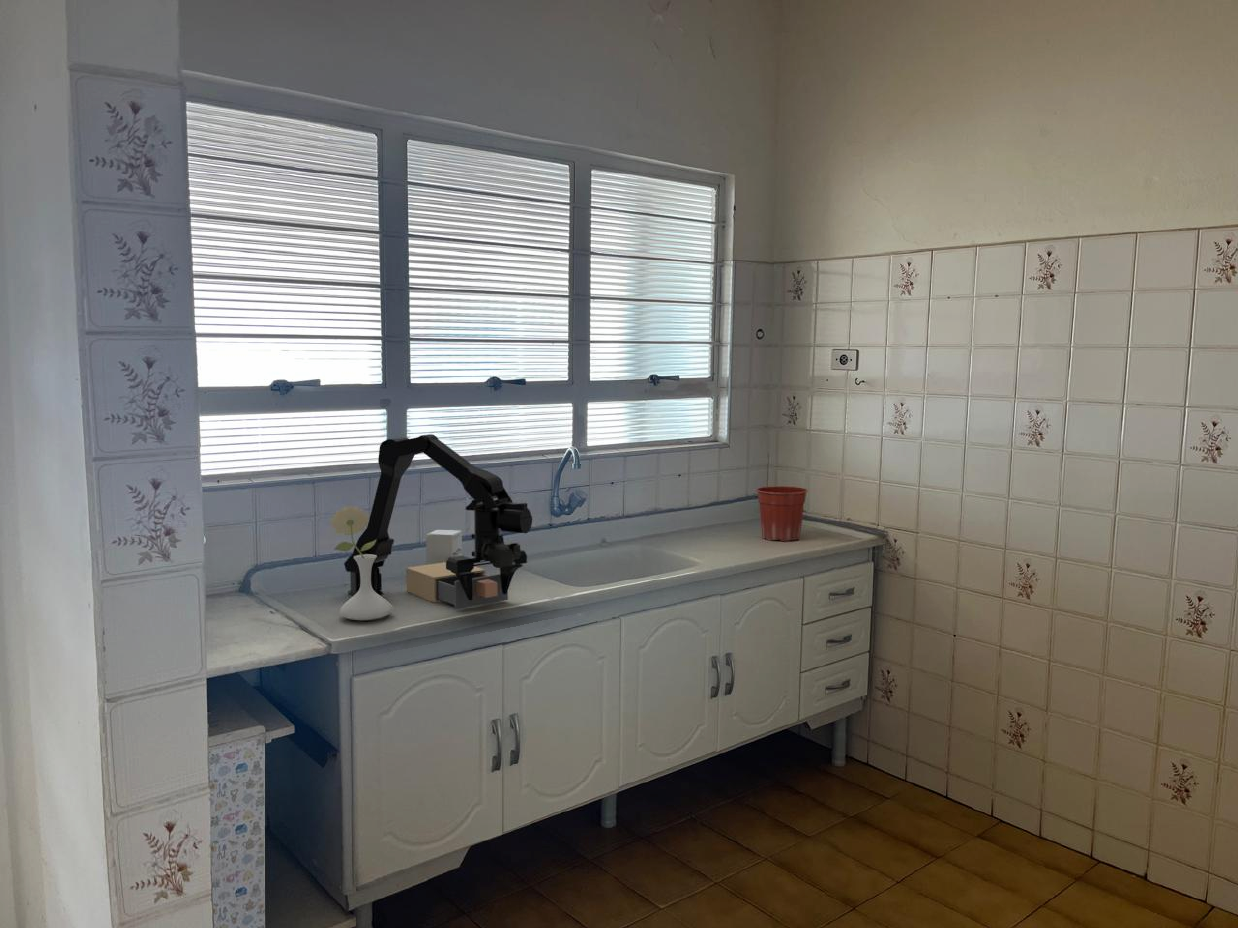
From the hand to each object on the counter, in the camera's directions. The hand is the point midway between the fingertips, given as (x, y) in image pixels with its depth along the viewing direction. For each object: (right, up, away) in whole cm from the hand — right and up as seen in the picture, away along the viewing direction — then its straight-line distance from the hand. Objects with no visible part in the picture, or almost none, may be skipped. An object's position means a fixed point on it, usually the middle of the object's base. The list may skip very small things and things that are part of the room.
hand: (487, 597), depth 222 cm
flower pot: (+83, +6, +91) cm, 123 cm away
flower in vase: (-26, -4, -9) cm, 28 cm away
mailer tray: (-5, -2, +6) cm, 8 cm away
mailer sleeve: (-12, -1, +15) cm, 19 cm away
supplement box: (-15, 0, +29) cm, 33 cm away
